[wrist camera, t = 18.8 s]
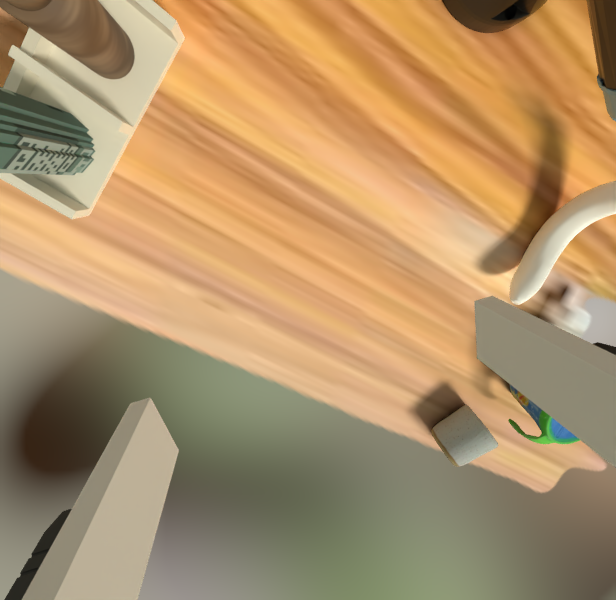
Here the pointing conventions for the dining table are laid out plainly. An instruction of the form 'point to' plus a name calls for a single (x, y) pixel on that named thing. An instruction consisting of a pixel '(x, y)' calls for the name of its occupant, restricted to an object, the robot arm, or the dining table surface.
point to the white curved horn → (559, 238)
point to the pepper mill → (79, 32)
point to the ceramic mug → (463, 436)
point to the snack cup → (542, 423)
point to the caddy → (94, 99)
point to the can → (41, 138)
